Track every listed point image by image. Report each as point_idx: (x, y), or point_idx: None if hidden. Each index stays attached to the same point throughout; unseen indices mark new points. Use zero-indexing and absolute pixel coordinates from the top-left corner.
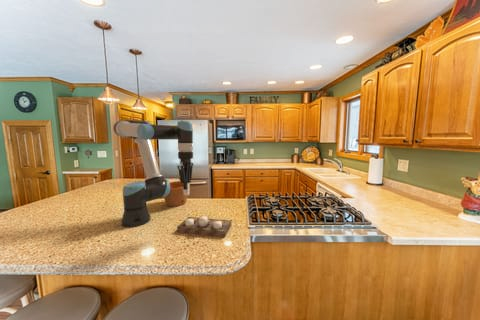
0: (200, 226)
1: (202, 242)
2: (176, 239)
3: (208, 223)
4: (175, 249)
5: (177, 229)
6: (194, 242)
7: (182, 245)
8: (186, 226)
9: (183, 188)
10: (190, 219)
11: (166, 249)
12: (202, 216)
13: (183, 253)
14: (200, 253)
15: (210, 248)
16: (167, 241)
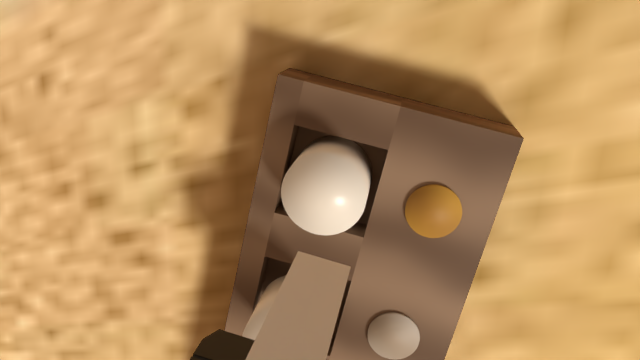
0: (265, 289)
1: (140, 290)
2: (169, 96)
3: (337, 345)
4: (44, 127)
5: (284, 72)
6: (137, 238)
7: (94, 163)
8: (281, 163)
9: (201, 341)
10: (339, 203)
11: (37, 63)
12: None
13: (11, 191)
14: (24, 290)
15: (78, 341)
16: (137, 31)
